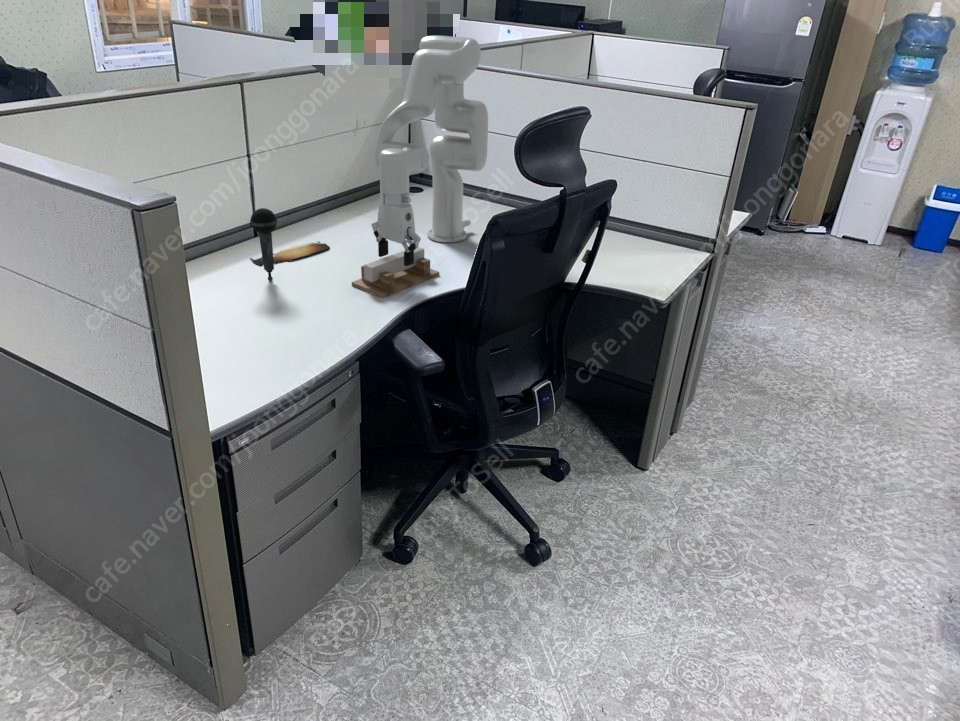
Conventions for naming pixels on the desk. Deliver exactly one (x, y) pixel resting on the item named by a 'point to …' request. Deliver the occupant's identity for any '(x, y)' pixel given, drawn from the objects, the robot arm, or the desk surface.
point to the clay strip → (390, 264)
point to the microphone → (265, 236)
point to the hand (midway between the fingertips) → (396, 260)
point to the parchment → (295, 253)
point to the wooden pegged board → (397, 279)
